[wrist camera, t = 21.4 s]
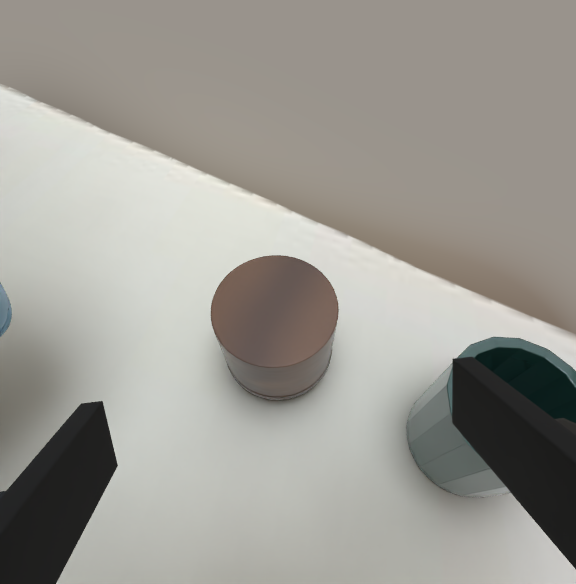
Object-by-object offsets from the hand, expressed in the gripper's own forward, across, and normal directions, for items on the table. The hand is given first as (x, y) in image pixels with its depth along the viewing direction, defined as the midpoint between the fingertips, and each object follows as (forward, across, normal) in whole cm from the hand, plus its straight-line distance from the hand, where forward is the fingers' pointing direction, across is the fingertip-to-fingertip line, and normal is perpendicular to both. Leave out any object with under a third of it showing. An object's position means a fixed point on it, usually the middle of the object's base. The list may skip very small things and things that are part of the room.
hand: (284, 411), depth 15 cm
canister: (+13, +13, -12) cm, 22 cm away
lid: (+19, 0, -6) cm, 20 cm away
